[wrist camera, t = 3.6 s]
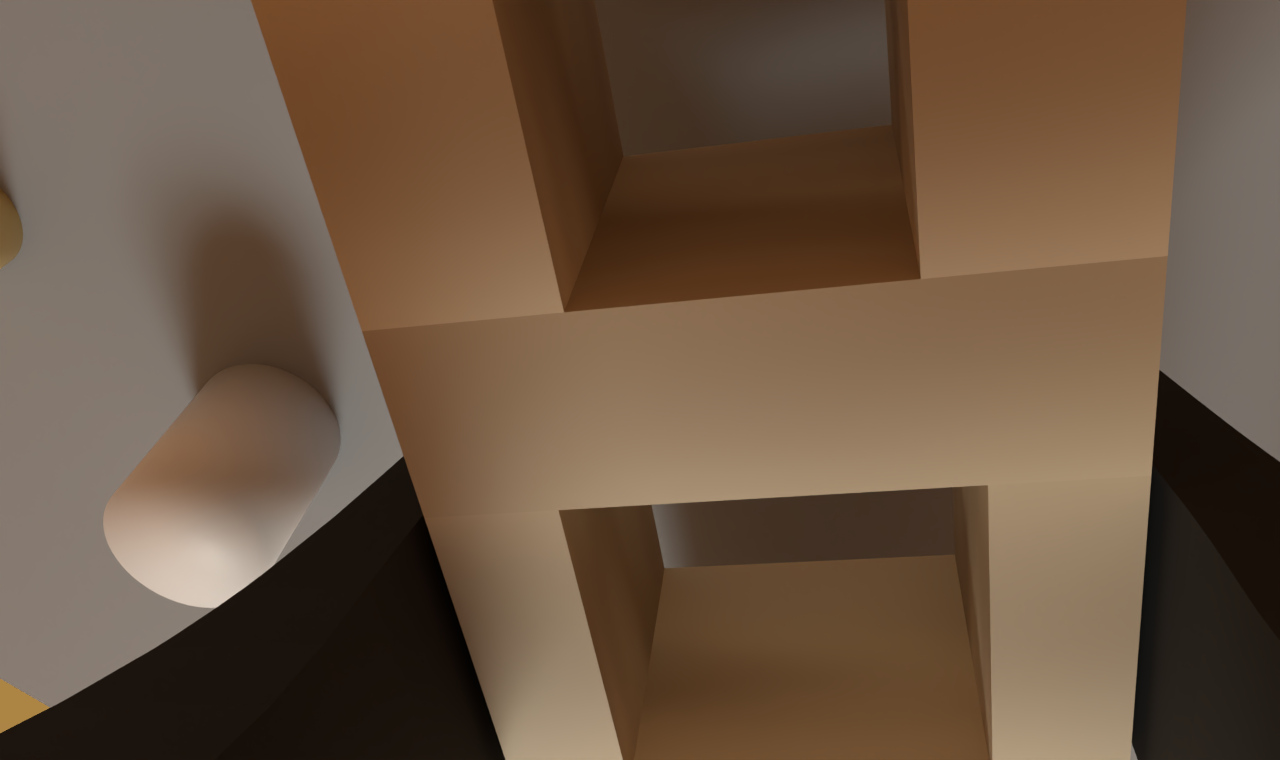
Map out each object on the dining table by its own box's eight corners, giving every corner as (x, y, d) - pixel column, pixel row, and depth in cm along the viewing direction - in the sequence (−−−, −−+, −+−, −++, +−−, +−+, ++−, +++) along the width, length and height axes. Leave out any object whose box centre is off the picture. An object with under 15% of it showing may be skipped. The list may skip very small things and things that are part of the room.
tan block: (1053, 869, 15) (1104, 1115, 12) (647, 867, 16) (617, 1093, 13) (1085, -424, 8) (1222, -473, 5) (351, -273, 9) (166, -251, 6)
